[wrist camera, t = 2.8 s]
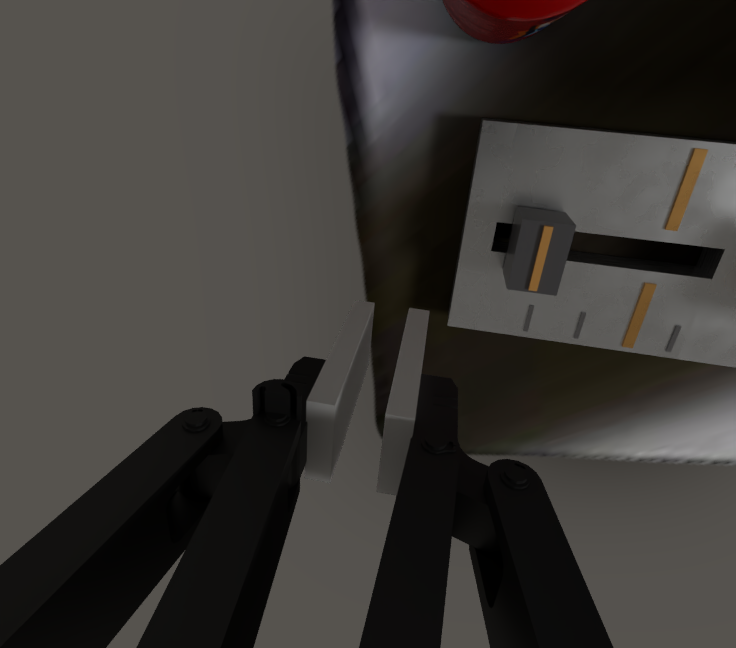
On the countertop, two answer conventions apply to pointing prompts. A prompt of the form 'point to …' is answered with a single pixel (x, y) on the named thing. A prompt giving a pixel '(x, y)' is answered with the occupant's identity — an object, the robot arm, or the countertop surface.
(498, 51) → the countertop surface
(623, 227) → the console
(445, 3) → the soda can
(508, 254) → the fader
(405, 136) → the countertop surface
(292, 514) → the robot arm
